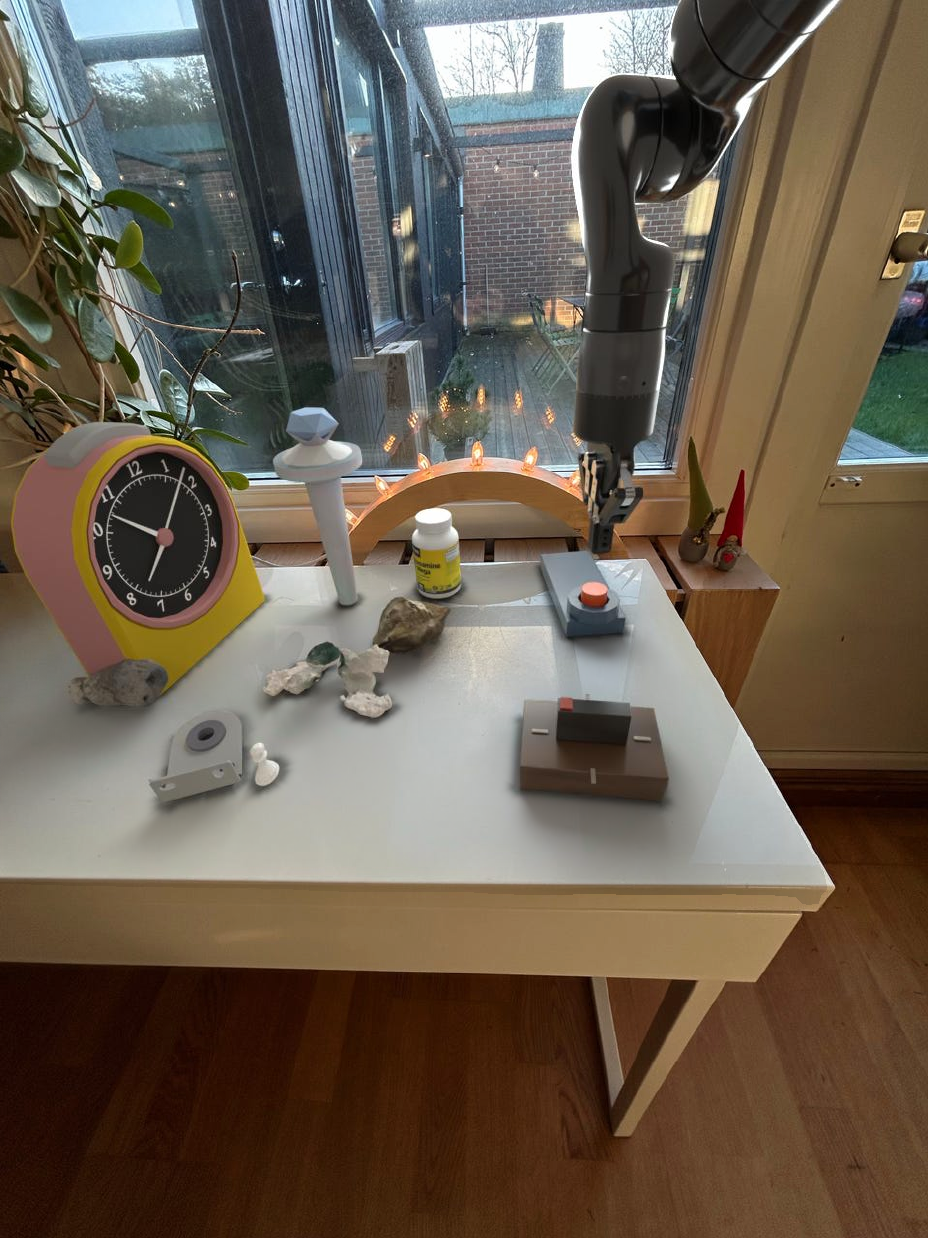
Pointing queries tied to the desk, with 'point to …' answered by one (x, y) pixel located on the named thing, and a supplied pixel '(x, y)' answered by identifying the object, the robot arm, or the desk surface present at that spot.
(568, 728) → the red-tipped grey bar
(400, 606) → the fossilized seashell
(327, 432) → the novelty light stick
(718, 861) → the desk surface
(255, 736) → the desk surface
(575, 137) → the robot arm
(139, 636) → the alarm clock
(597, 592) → the button
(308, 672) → the rock
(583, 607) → the button box
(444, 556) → the pill bottle
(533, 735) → the panel
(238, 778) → the bracket
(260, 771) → the chess pawn
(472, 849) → the desk surface
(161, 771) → the desk surface
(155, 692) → the stone
